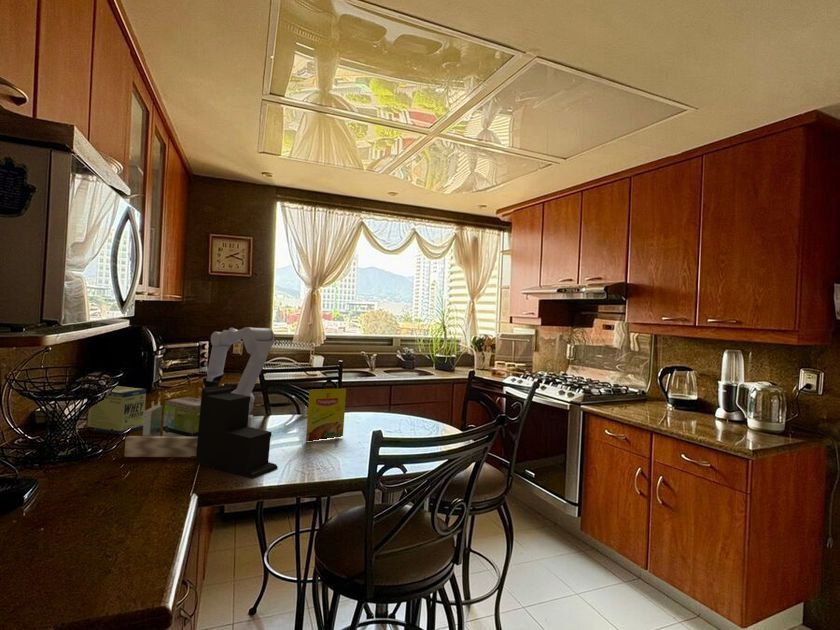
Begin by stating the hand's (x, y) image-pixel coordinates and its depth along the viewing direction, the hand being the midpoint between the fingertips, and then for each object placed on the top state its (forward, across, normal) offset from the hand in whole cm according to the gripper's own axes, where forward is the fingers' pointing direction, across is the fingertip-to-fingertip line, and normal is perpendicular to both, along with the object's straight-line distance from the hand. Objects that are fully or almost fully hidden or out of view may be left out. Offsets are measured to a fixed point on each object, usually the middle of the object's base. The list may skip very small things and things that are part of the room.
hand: (210, 392), depth 176 cm
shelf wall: (+8, +39, 0) cm, 40 cm away
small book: (+10, +34, -8) cm, 36 cm away
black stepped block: (+3, +49, +21) cm, 53 cm away
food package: (+4, +19, +48) cm, 52 cm away
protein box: (+18, +8, -29) cm, 35 cm away
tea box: (+11, +22, 0) cm, 25 cm away
